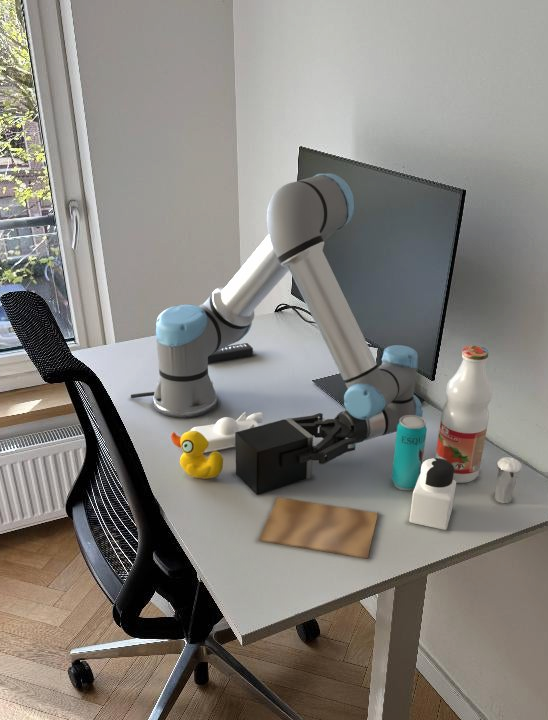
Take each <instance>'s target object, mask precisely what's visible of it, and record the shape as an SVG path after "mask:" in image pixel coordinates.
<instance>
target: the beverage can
mask: <svg viewBox="0 0 548 720" xmlns="http://www.w3.org/2000/svg"><path fill="white" fill-rule="evenodd" d="M427 429H428V427H427V420H426V419H425V418H424V417H423V416H422V417H419V416H416V415H406V416H403V417H401V418H400V422H399V424H398V426H397V432H396V434H395V435H396V436H395V445H394V453H393V455H394V456H393V460H392V461H393V463H392V471H391V479H392V483H393V486H394V487H395V488H396V489H397V490H400V491H404V492H409V491H414V489H415V486H416V483H417V480H418V478H419V475H420V473H421V466H422V463H423V462H424V461H423V460H424V455H425V454H424V452H425V445H426V438H427V431H428V430H427Z"/></svg>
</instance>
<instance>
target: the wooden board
mask: <svg viewBox="0 0 548 720" xmlns="http://www.w3.org/2000/svg"><path fill="white" fill-rule="evenodd" d="M378 516H379V513H378V512H375V511H374V512H373V511H367V510H360V509H355V508H347V507H341V506H336V505H329V504H323V503H317V502H311V501H302V500H298V499H297V500H296V499H291V498H285V497H277V498H276V501H275V503H274V505H273V508H272V510H271V512H270V514H269V517H268V519H267V520H266V523H265V525H264V527H263V530H262V532H261V534H260V536H259V539H258V541H260V542H265V543H271V544H272V543H273V544H277V545H283V546H284V545H285V546H290V547H296V548H302V549H307V550H312V551H313V550H314V551H319V552H326V553H332V554H338V555H344V556H349V557H355V558H361V559H368V558H369V553H370V549H371V545H372V542H373V541H372V540H373V536H374V534H375V533H374V532H375V528H376V525H377V520H378Z"/></svg>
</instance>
